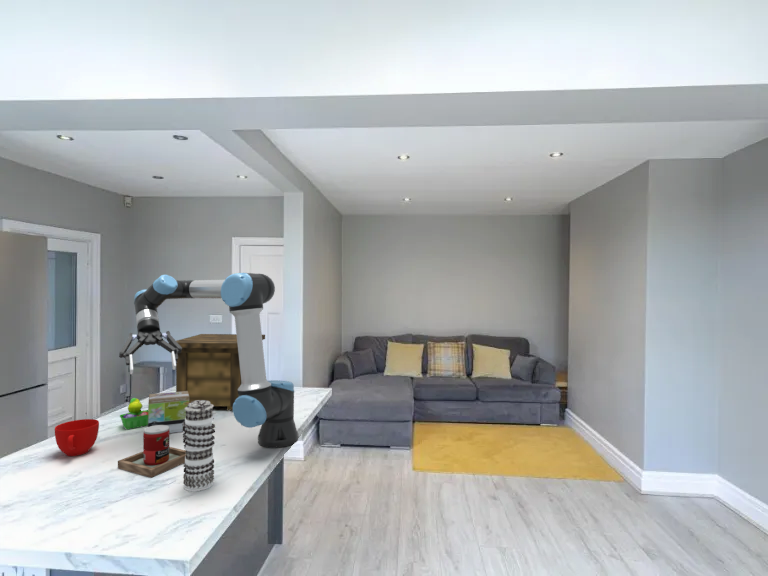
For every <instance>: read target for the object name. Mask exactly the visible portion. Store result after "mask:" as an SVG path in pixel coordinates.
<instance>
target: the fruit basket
mask: <svg viewBox="0 0 768 576" xmlns="http://www.w3.org/2000/svg"><path fill="white" fill-rule="evenodd" d="M142 408H143V404H142V403H141V401H140V399H138V398H136V397H133V398H131V399H130V402H129V404H128V406H127V410H128V412H126V413H124V414H123V413H121V414H120V415H119V418H120V419H121V422H122V426H123V428H124V427H125V428H126V429H127V430H131V429H130V428H132V429H136V428H135V427H137V428H142V427H141V426H143V427H147V426H146V425H148V409H145V410H142ZM125 428H124V429H125ZM126 429H125V430H126Z"/></svg>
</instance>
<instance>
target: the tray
mask: <svg viewBox="0 0 768 576" xmlns="http://www.w3.org/2000/svg"><path fill="white" fill-rule="evenodd" d="M185 456H186V450H185V449H180V448H178V447H177V448H176V447H172V446H169V459H168V461H167V462H165V463H163V464H159V465H146V464H145V463H144V461H143V451H141V452H139V453H136V454H132V455H130V456H127V457H125V458H122V459H119V460H118V461H117V469H118V470H119V469H120V470H123V471H126V472H130V473H132V474H133V473H134V474H136V475H141V476H144V477H148V478H150V479H151V478H154V477H156V476H158V475H161V474H163V473H165V472H167V471H170V470H172V469H174V468H177V467H178V466H181V465H184V463H185Z"/></svg>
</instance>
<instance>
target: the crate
mask: <svg viewBox="0 0 768 576" xmlns="http://www.w3.org/2000/svg"><path fill="white" fill-rule="evenodd" d="M265 339H266V334H262V341H264V340H265ZM175 341H176V342H177V343H178V344H179V345H180V346H181V347H182V351H181V353H177V354H178V360H177V361H176V369H175V379H176V380H175V392H182V391H188V394H189V403H191V402H193V401H197V400H207V401H209V402H210V403H211V404H212V405H214V407H226V411H232V412H233V403H234V402H235V400H236V399H237V398H238V388H239V387H240V385H241V373H240V363H239V354H238V344H237V334H235V333H232V334H230V333H229V334H228V333H227V334H226V333H200V334H196V335H193V336H188V337H185V338H181V339H177V340H175ZM168 343H169V342H168ZM169 344H170V343H169ZM170 345H171V344H170Z"/></svg>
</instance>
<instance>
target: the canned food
mask: <svg viewBox="0 0 768 576" xmlns="http://www.w3.org/2000/svg"><path fill="white" fill-rule="evenodd" d="M142 440H143V441H142V442H143V444H142V445H143V449H142V452H143V461H144V463H145V464H146V465H159V464H163V463H165V462H167V461H168V459H169V447H170V433H169V426H166V425H155V426H150V427H148V426H146V427H145V428H144V429H143V439H142Z"/></svg>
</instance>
